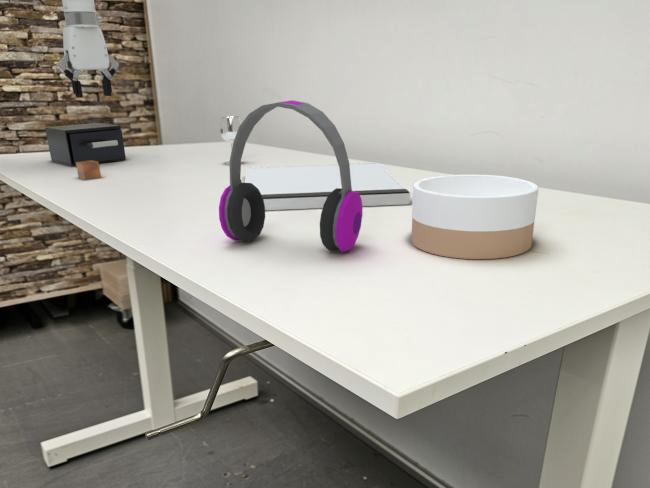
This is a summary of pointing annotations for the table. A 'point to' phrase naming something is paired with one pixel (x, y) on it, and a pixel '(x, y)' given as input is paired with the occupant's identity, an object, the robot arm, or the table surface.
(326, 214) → the headphones
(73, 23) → the robot arm
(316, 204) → the pale grey flat slab
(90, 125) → the drawer box
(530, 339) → the table surface
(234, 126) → the wineglass
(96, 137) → the black drawer
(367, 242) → the table surface
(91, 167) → the block
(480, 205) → the bowl
